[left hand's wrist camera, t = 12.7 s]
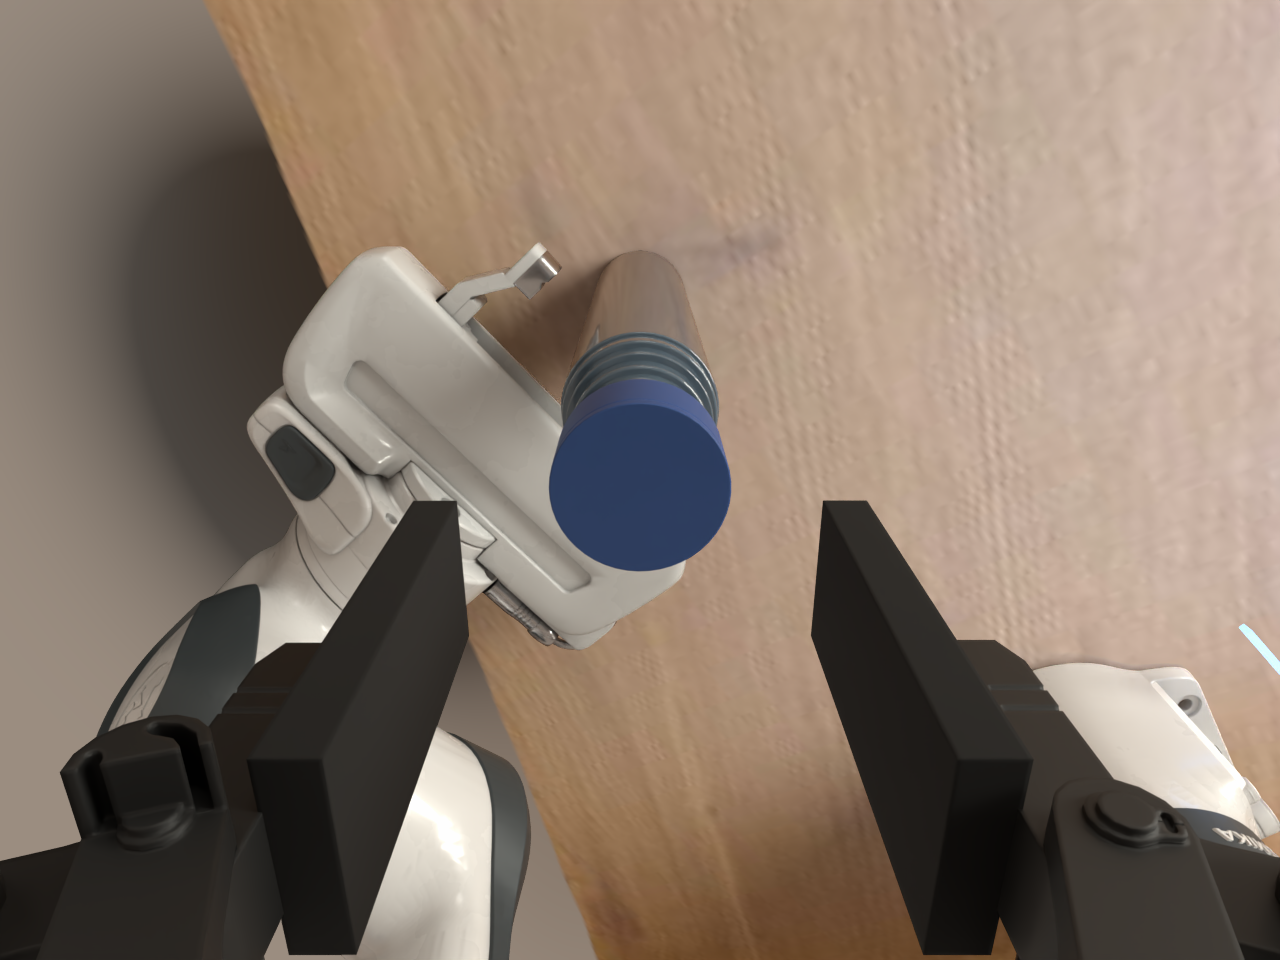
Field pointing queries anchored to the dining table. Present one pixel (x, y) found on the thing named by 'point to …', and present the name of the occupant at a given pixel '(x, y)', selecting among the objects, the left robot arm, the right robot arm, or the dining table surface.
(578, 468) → the cap
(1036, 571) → the dining table surface
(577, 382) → the bottle
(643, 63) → the dining table surface
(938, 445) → the dining table surface
